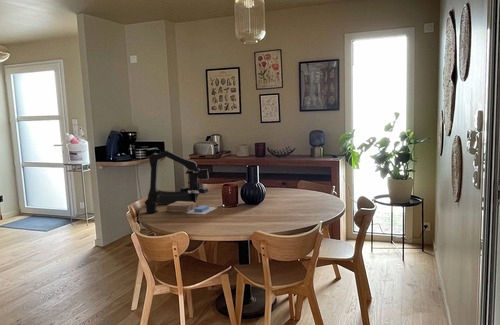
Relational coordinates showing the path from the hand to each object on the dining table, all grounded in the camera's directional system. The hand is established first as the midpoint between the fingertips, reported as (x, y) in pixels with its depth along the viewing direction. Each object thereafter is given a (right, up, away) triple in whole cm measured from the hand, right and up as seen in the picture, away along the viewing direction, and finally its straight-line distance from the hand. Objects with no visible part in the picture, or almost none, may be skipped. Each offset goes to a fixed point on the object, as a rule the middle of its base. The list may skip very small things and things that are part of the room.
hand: (194, 202), depth 270 cm
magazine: (-19, -3, +24) cm, 31 cm away
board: (-9, -5, +5) cm, 11 cm away
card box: (+5, -3, -2) cm, 6 cm away
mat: (+5, -5, -1) cm, 7 cm away
